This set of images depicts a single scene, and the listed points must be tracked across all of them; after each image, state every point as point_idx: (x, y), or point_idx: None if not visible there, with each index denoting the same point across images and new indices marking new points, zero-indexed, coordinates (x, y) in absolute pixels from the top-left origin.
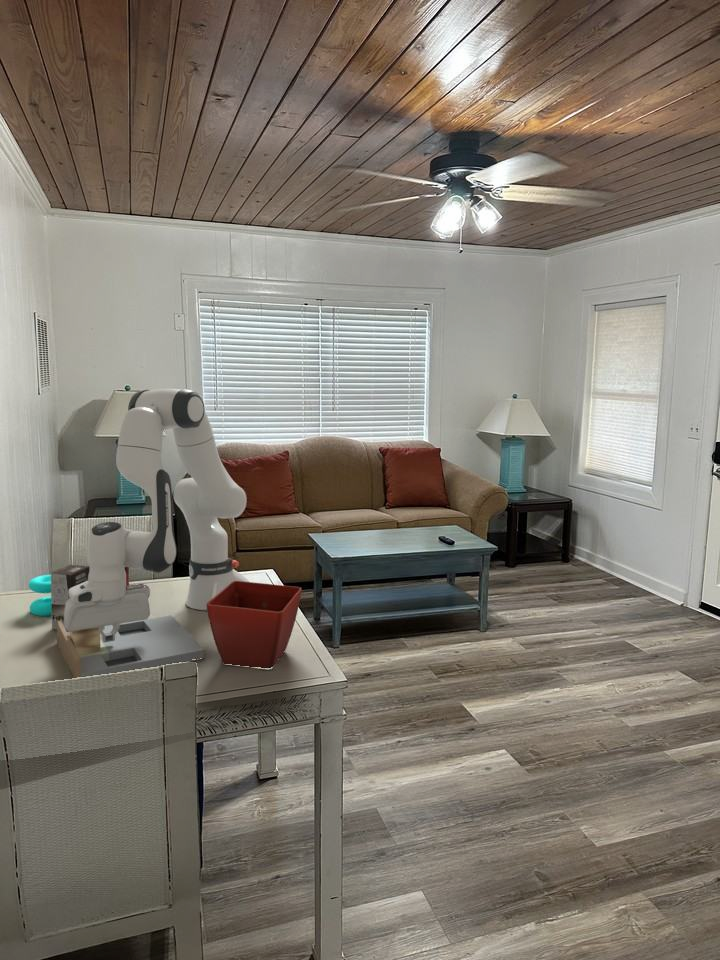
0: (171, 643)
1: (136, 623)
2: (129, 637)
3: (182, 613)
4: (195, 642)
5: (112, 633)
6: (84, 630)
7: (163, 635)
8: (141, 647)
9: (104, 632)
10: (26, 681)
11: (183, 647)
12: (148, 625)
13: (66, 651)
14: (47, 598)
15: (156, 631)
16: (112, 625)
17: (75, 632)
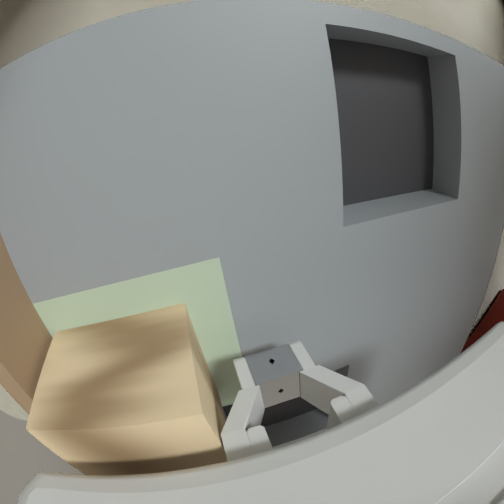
0: (442, 329)
1: (426, 47)
2: (373, 257)
3: (495, 17)
4: (472, 323)
5: (304, 394)
6: (144, 469)
7: (461, 262)
8: (371, 359)
9: (252, 124)
10: (25, 414)
11: (444, 351)
12: (463, 125)
13: None
14: None
15: (464, 214)
16: (330, 415)
17: (99, 473)
